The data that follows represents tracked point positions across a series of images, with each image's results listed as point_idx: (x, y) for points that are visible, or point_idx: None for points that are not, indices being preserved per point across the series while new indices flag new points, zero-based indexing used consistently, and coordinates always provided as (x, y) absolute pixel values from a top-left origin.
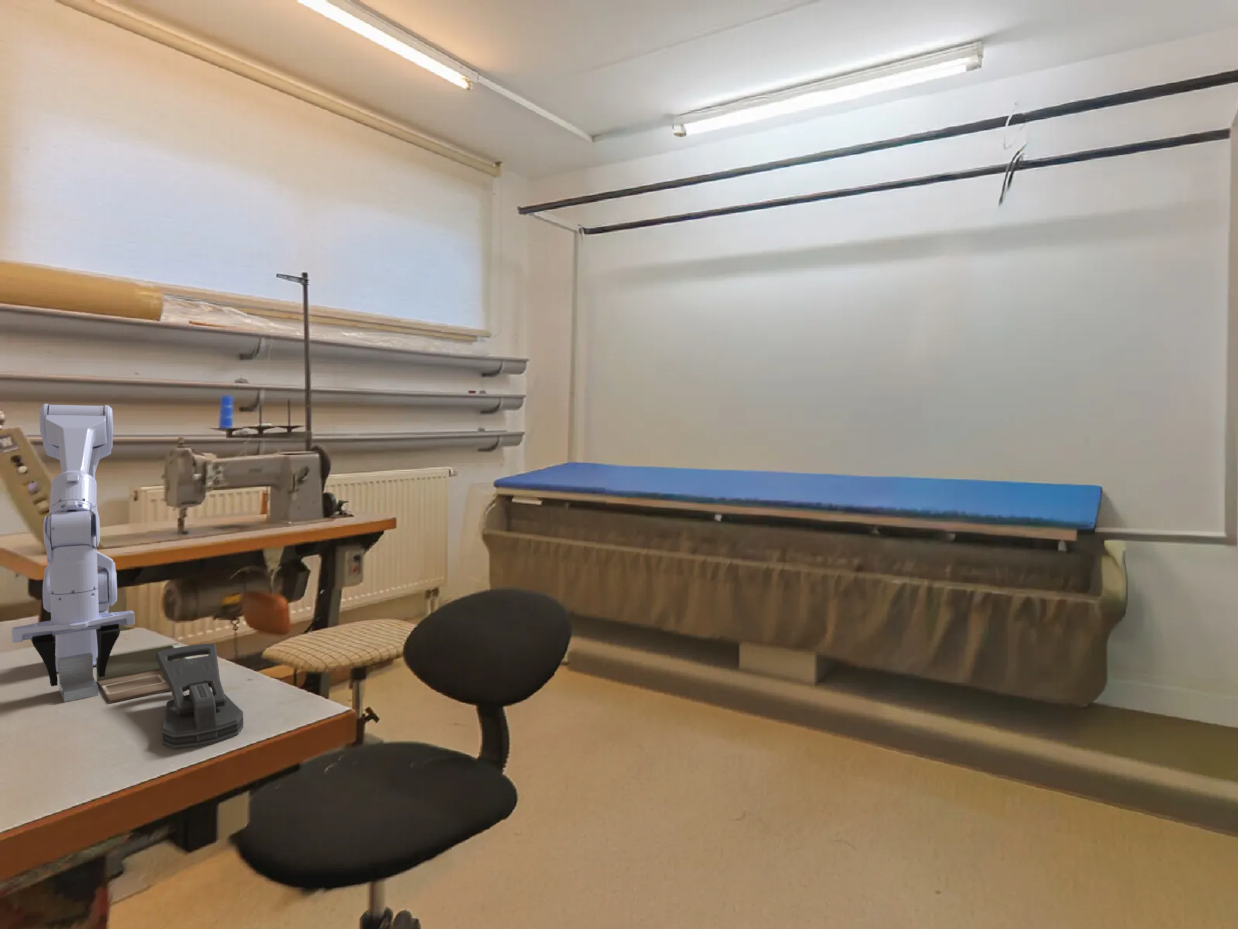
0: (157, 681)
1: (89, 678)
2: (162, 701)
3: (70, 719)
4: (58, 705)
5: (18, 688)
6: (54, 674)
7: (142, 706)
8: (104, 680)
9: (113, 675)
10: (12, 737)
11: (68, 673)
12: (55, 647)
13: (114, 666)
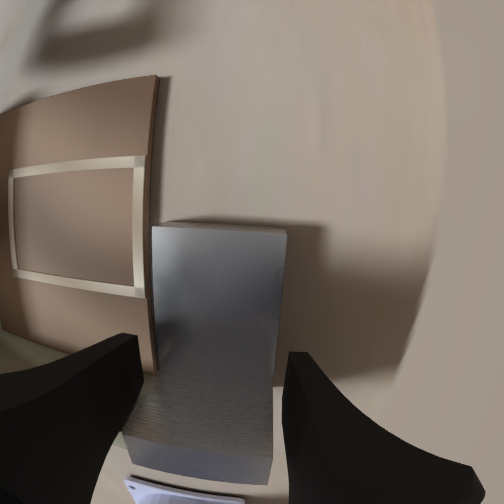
0: (19, 204)
1: (171, 363)
2: (68, 25)
3: (297, 11)
4: (308, 203)
5: None
6: (308, 373)
7: (111, 7)
8: None
9: None
10: (430, 11)
11: (238, 401)
12: (339, 490)
13: None
